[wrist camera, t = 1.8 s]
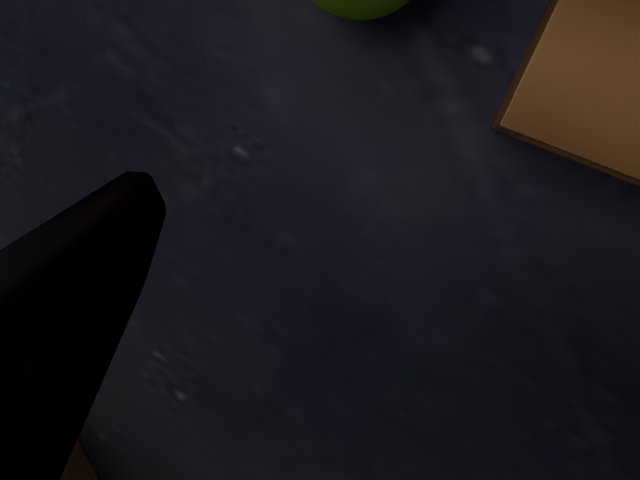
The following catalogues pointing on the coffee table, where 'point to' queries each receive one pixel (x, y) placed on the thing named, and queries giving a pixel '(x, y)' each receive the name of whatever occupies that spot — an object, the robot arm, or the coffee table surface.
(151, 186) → the robot arm
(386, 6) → the snail figurine
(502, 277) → the coffee table surface
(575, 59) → the tan rectangular block
